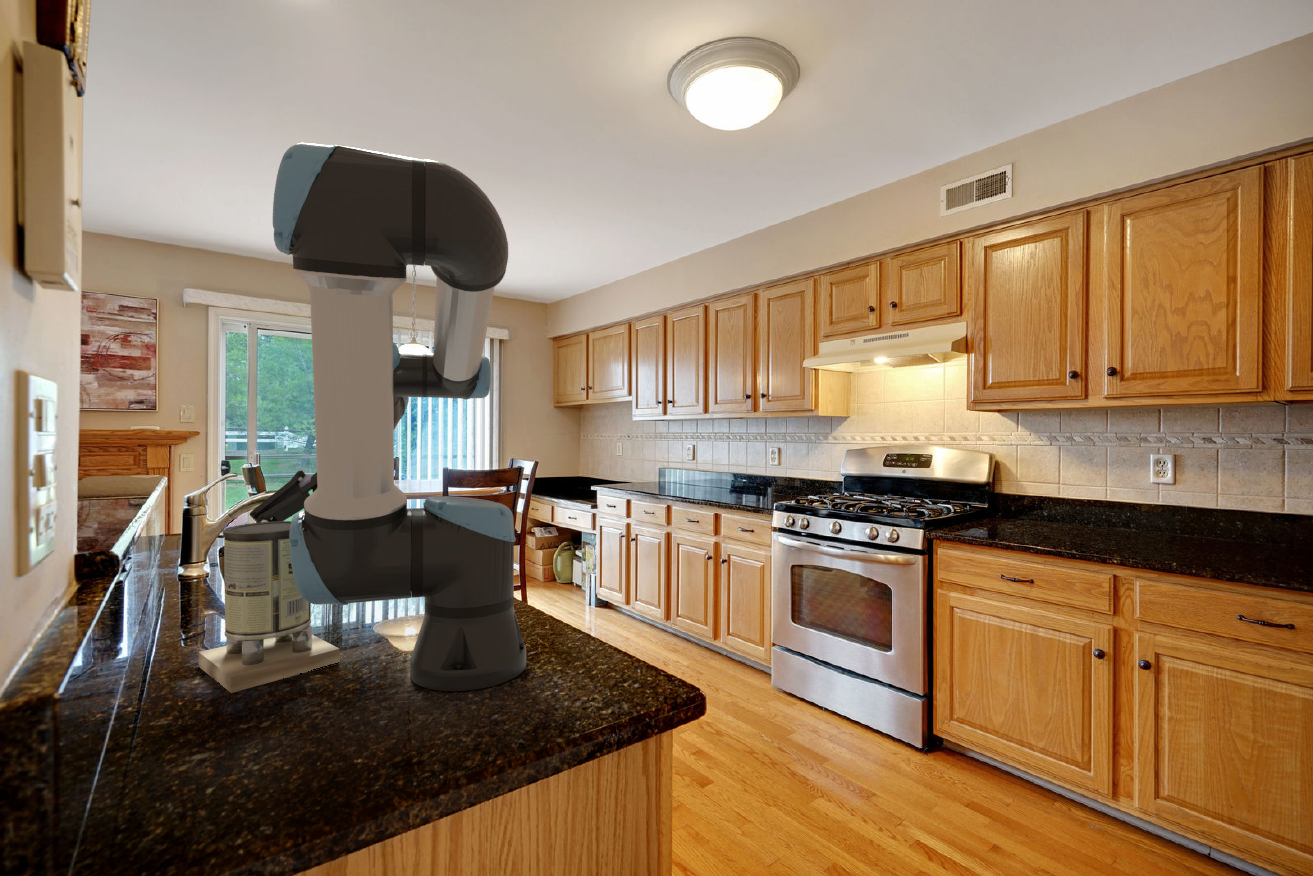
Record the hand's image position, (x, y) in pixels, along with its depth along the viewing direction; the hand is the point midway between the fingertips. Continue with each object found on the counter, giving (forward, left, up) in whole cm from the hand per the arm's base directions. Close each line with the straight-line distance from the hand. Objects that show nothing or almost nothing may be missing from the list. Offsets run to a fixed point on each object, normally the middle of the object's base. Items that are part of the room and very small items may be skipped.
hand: (287, 564), depth 90 cm
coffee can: (-2, +3, -8) cm, 9 cm away
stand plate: (-2, +3, -13) cm, 14 cm away
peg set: (-2, +3, -11) cm, 12 cm away
